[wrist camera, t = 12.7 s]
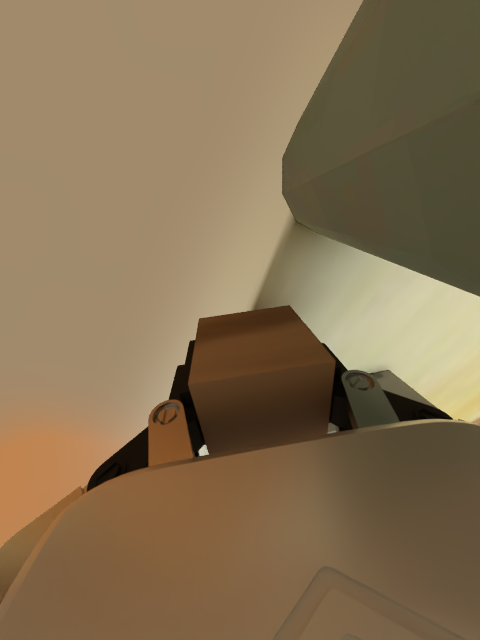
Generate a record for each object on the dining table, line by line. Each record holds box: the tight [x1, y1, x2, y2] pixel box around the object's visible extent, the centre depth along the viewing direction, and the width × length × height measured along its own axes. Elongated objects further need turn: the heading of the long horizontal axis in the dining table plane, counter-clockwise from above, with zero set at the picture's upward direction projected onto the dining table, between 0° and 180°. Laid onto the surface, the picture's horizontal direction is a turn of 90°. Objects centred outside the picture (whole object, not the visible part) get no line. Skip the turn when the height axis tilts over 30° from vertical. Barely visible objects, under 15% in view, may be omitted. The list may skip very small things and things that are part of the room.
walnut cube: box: [188, 305, 336, 455], centre depth 10 cm, size 5×5×5 cm
